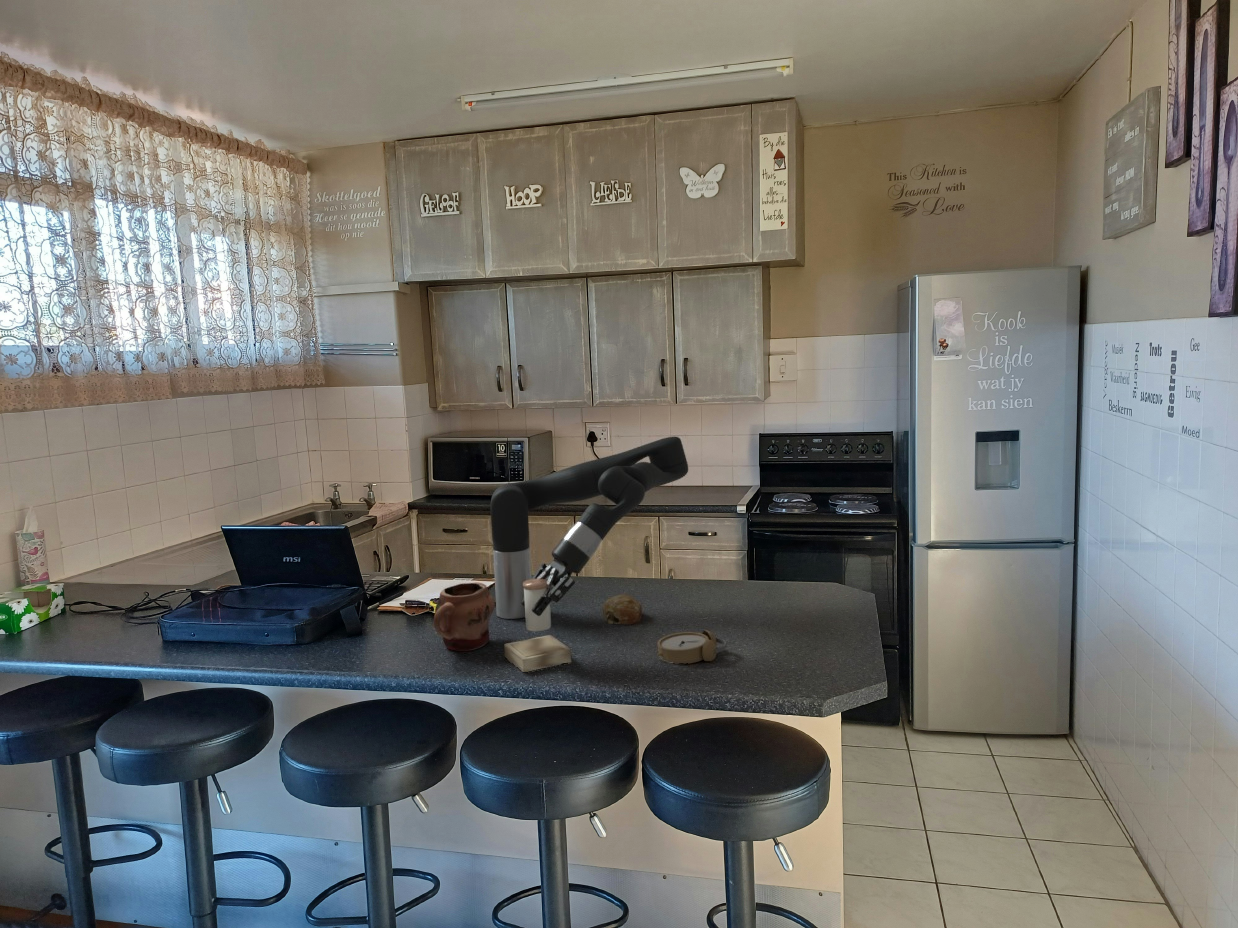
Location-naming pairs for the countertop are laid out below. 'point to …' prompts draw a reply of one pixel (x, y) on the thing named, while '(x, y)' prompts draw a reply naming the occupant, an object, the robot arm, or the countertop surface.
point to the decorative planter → (464, 616)
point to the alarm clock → (689, 647)
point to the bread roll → (622, 610)
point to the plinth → (537, 653)
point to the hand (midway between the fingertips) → (529, 609)
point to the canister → (531, 596)
